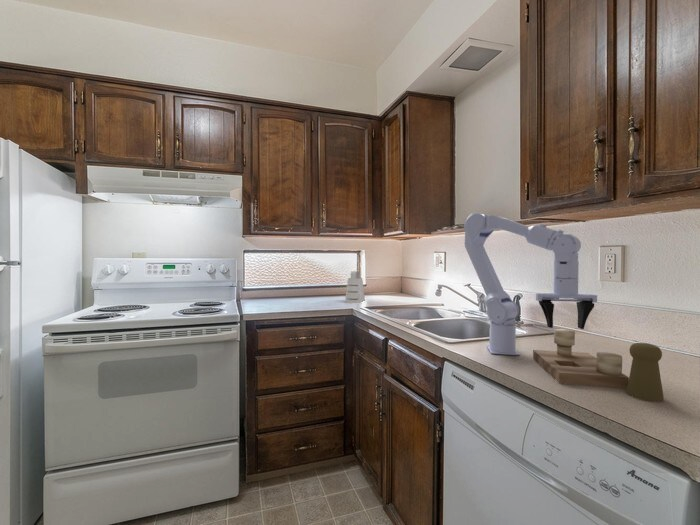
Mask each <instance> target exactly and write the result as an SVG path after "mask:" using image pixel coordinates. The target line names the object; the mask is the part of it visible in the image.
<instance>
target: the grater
mask: <svg viewBox="0 0 700 525" xmlns="http://www.w3.org/2000/svg"><path fill="white" fill-rule="evenodd" d="M363 282H364V280H363V278H362V277H360V271H357V270H356V271H355V270H354V271H350V277H348V278H347V283H346V290H345V291H346V292H345V298H344V299H345V300H344V304H353V303H361V302H363V301H365V302H366V299H365V291H364V290H365V289H364V283H363ZM361 304H362V303H361Z"/></svg>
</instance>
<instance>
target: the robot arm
mask: <svg viewBox="0 0 700 525" xmlns="http://www.w3.org/2000/svg"><path fill="white" fill-rule="evenodd" d="M463 229H464V247H465V251H466V252H467V254H468V256H469V259H470V261H471V264H472V266H473V267H474V270H475V272H476V275H477V277H478V279H479V281H480V284H481V287H482V289H483V290H484V293H485V296H486V298H485V302H484V303H485V305H486V315H487V317H488V319H489V320H490V322H489V323H490V324H489V325H490V326H489V335H488V336H489V341H488V342H489V344H486V345H485V346H486V348H487V349H488V351H489V352H490V354H492V355H507V356H508V355H509V356H520V355H521V354H520V353H519V351H517V350H516V343H517V342H516V340H517V338H516V337H517V336H516V333H517V332H516V331H517V327H516V326H517V324H516V318H517V317H518V316H519V313H520V309H519V308H520V307H519V305H517V303H516V302H514V301H513V299H512V298H511V297H510V296H511V295H510V294H508V293H507V292H506V291H505V290H504V287H503V286H502V283H501V281H500V280H499V277H498V275H497V272H496V270H495V268H494V266H493V264H492V262H491V259H490V257H489V256H488V253H487V251H486V248H485V246H484V245H485V243H486V241H487V239H488V238H489V237H490V236H491V235H492V233H494V231H500V230H503V231H506V232H508V233H512V234H516V235H518V236H522V237H524V238H525V240H526V241H527V243H528V244H530V245H533V246H535V247H540V248H542V249H544V250H547V251H552V252H553V253H554V256H553V258H554V261H553V292H551V293H545V292H544V293H542V292H541V293H539V292H537V293H535V301H538V304H539V305H540V307H541V309H542V311H543V314H544V316H545V321H546V326H547V327H548V328H550V329H553V328H554V318H553V316H554V309H555V304H554V303H553V302H574V303H575V302H576V303H575V304H576V308H577V329H580V330H585V327H586V322H587V320H588V317H589V315H590V313H591V312H592V311H593V309H594V308H595V303H598V295H597V294H588V293H587V294H586V293H585V294H584V293H579V265H580V264H579V251H580V249H581V248H582V247H581V246H582V243H581V240H580V238H579V237H576V236H575V235H573V234H571V233H568V234H566V233H565V234H564V232H565V231H564V230H561V229H558V230H556V229H553V228H549V227H547V225H546V224H544V223H540V224H533V225H531V226H528V225H525V224H523V223H519V222H517V221H514V220H511V219H508V218H506V217H504V216H498V215H494V214H493V215H491V214H486V213H484V214H483V213H480V212H472V213H470V214H469V215H468V216H467V218H466V220H465V221H464V223H463Z"/></svg>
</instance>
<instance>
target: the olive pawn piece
mask: <svg viewBox="0 0 700 525" xmlns="http://www.w3.org/2000/svg"><path fill="white" fill-rule="evenodd" d="M629 355H630V356H631V357H632V360H631V365H630V371H629V376H628V377H629V381H628V387H627V388H626V394H627V395H629V396H630V397H632V396H633V397H632V398H635V399H638V400H642V401H647V402H653V403H660V402H664V401H665V398H664V391H663V384H662V379H661V377H662V376H661V373H660V365H659V361H660V360H661V359H662V356H663V352H662V349H661V348H660V347H659V346H657V345H654V344H651V343H646V342H635V343H632V344H631V345H630V347H629Z"/></svg>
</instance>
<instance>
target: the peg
mask: <svg viewBox="0 0 700 525" xmlns="http://www.w3.org/2000/svg"><path fill="white" fill-rule="evenodd" d="M553 332H554V333H553V337H554V339H553V340H554V341H553V343H554V344H556V351H557V354H558V355H562V356H571V355H572V352H573V351H572V350H573V348H572V347H573V346H575V343H576V337H575V335H576V332H575V330H571V329H564V328H556V329H554V330H553Z"/></svg>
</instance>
